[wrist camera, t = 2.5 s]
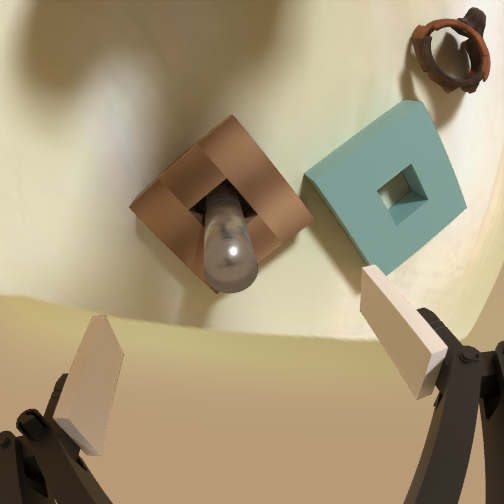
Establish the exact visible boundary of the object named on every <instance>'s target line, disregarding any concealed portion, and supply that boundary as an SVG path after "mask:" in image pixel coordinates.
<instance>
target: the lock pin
mask: <svg viewBox="0 0 504 504" xmlns="http://www.w3.org/2000/svg"><path fill="white" fill-rule="evenodd" d="M257 273H258V264H257V260H256V257H255V253H254V250H253V246H252V243H251V239H250V236H249V233H248V229H247V226H246V222H245V219H244V216H243V212H242V209H241V205H240V202H239V199H238V195H237V193H236V192H235V190H234V189H232V188H231V187H229V186H226V185H219V186H217V187H215V188H214V189H213V190H212V191H210V192H209V193H208V194H207V196H206V208H205V238H204V276H205V278H206V280H207V282H208V283H209V285H210V286H211V287H213V288H214V289H216V290H218V291H220V292H224V293H236V292H240V291H243V290H245V289H246V288H248V287H249V286H250V285H251V284H252V283H253V282H254V280H255V279H256V277H257Z"/></svg>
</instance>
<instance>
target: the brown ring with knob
mask: <svg viewBox="0 0 504 504" xmlns="http://www.w3.org/2000/svg"><path fill="white" fill-rule="evenodd" d="M485 23H486V15H485V14H484V12H483V11H481V10H479V9H478V8H474V7H472V8H471V9H469V10H468V12H467V14H466V15H465V16H464V18H458V19H457V20H455V19H440V20H435V21H432V22H430V23H428V24H427V25H426V26H421V25H418V26H417V27H416V29H415V30H414V32H413V34H412V38H413V46H414V50H415V53H416V56H417V59H418V62H419V64H420V65H421V67H422V69H423V71H424V72H428V76H429V78H431V79H432V80H433V81H434V82H436V83H437V84H439V85H440V86H441V87H442V88H443V89H444V90H445V91H446V92H447V93H450V92H452V91H454V90H455V89H456V88H458V87H461V89H462V90H463V91H464V92H468V93H470V94H471V93H473V92H475V91H476V89H477V87H478V85H479V82H480V81H481V80H482V79H483V82H485V81H486V80H487V78H488V75H489V72H490V55H489V51H488V48H487V47H486V44H485V42H484V39H483V32H484V29H485V26H486V24H485ZM444 27H451V28H452V29H453V30H455V31H456V32H457V33H458V34H459V35H463V36H465V37H467V38H469V39H467V40H466V41H463V42H462V43H461V44H462V45H463V47H464V48H465V49H466V51H467V53H468V55H469V58H470V62H471V70H470V73H469V75H468V77H467V78H466V79H465V80H457V79H454V78H452V77H449V76H448V75H446V74H445V73H444V72H443V71H442V70H441V69H440V68H439V67H438V66H437V64H436V62H435V60H434V58H433V56H432V52H431V40H432V37H431V36H430V34H431V33H432V32H433V31H434V30H435V31H438V30H439V29H441V28H444Z"/></svg>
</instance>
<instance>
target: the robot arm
mask: <svg viewBox="0 0 504 504" xmlns="http://www.w3.org/2000/svg"><path fill="white" fill-rule="evenodd" d="M360 312H361V313H362V315H363V316H364V318H365V319H366V321H367V322H368V324H369V325H370V327H371V328H372V330H373V331H374V333H375V334H376V336H377V338H378V339H379V341H380V342H381V344H382V345H383V347H384V348H385V350H386V351H387V353H388V355H389V356H390V358H391V359H392V361H393V362H394V364H395V366H396V367H397V369H398V370H399V372H400V374H401V375H402V377H403V378H404V380H405V382H406V383H407V385H408V387H409V388H410V390H411V391H412V393H413V395H414V396H415V398H416V400H419V399H421V398H423V397H426V396H428V395H431V394H432V392H433V389H434V387H435V385H436V387H437V388H438V390H439V394H438V396H437V399H436V401H435V403H434V406H435V409H434V413H433V417H432V421H431V425H430V428H429V432H428V435H427V439H426V442H425V446H424V449H423V452H422V455H421V458H420V461H419V464H418V467H417V470H416V473H415V475H414V478H413V481H412V483H411V486H410V489H409V491H408V494H407V496H406V499H405V501H404V504H458V501H459V497H460V494H461V490H462V487H463V483H464V479H465V475H466V471H467V467H468V463H469V458H470V453H471V448H472V443H473V438H474V432H475V426H476V419H477V412H478V404H479V406H480V413H481V421H482V430H483V441H484V455H485V474H486V475H485V476H486V504H504V341H501V342H500V343H498V345H497V347H496V349H495V351H490V352H479V351H478V350H477V349H475V348H474V347H471V346H463V345H462V344H461V343H460V342H459V341H458V339H457V338H456V337H455V336H454V335H453V334H452V333H451V331H450V330H449V329H448V328H447V327H445V325H444V323H443V322H442V321H440V319H439V318H438V317H437V316H436V315H435V314H434V312H432V311H430V310H428V309H426V308H425V307H424V308H421V309H417V310H416V309H415V308H414V307H413V306H412V304H411V303H410V302H409V301H408V300H407V299H406V298H405V296H404V295H403V294H402V293H401V292H400V291H399V290H398V289H397V288H396V286H395V285H394V284H393V283H392V282H391V281H390V280H389V279H388V278H387V277H386V276H385V274H384V273H383V272H382V271H381V270H380V269H379V268H378V267H377V266H376V265H370V266H366V267H362V277H361V302H360ZM123 356H124V353H123V351H122V349H121V347H120V345H119V343H118V341H117V339H116V337H115V335H114V333H113V330H112V328H111V326H110V324H109V322H108V320H107V317H106V315H99V316H93V317H92V319H91V321H90V323H89V326H88V328H87V330H86V332H85V335H84V337H83V339H82V342H81V344H80V347H79V349H78V351H77V354H76V356H75V359H74V361H73V364H72V366H71V369H70V371H69V373H68V374H63V375H62V376H61V377H60V378H59V379H58V381H57V382H56V385H55V387H54V392H52V395H51V398H50V400H49V403H48V406H47V409H46V412H45V414H44V417H43V416H42V415H41V414H40V413H39V412H38V410H36V409H28V410H26V411H24V412H23V413H22V414H21V415H20V416H19V417H18V419H17V422H16V427H17V429H18V430H19V431H20V432H21V433H22V434H23V436H19V437H15V435H13V433H12V432H10V431H3V432H1V433H0V504H56V502H57V504H113V503H112V502H111V501H110V499H109V498H108V497H107V495H106V494H105V493H104V491H103V490H102V488H101V487H100V485H99V484H98V482H97V481H96V480H95V478H94V477H93V475H92V473H91V472H90V470H89V469H88V467H87V466H86V464H85V463H84V461H83V460H82V458H81V457H80V456H79V451H80V449H81V450H82V451H83V452H84V453H85V454H86V455H91V456H102V452H103V446H104V441H105V436H106V430H107V425H108V421H109V416H110V411H111V406H112V402H113V398H114V393H115V389H116V384H117V380H118V377H119V372H120V368H121V364H122V360H123ZM54 498H55V499H54ZM55 500H56V502H55Z"/></svg>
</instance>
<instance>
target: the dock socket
mask: <svg viewBox="0 0 504 504" xmlns="http://www.w3.org/2000/svg"><path fill="white" fill-rule="evenodd" d="M401 171H402V173H403V175H404V176H405V178H406V180H407V182H408V184H409V186H410V188H411V191H410V192H409V193H408V194H406V195H405V196H404V197H403V198H402V199H400V200H399V201H398V202H397V203H395V204H394V205H393V206H392V207H390V208H389V209H388V210H387V208H386V206H385V204H384V203H383V201H382V199H381V197H380V196H379V194H378V192H377V190H378V189H380V188H381V187H382V186H383V185H385V184H386V183H387V182H388V181H390V180H391V179H392V178H394V177H395V176H396V175H397V174H399V173H400V172H401ZM304 174H305V175H306V177H307V178H308V180H309V181H310V182H311V184H312V185H313V186H314V188H315V189H316V191H317V192H318V193H319V195H320V196H321V198H322V199H323V201H324V202H325V203H326V205H327V206H328V208H329V209H330V211H331V212H332V213H333V215H334V216H335V218H336V219H337V221H338V222H339V224H340V225H341V227H342V228H343V230H344V231H345V233H346V234H347V236H348V237H349V239H350V240H351V242H352V243H353V245H354V246H355V248H356V249H357V251H358V252H359V254H360V255H361V257H362V258H363V260H364V262H365V263H366V265H367V266H370V265H376V266H377V267H378V268H379V269H380V270H381V271H382V272H383V273H384V274H385V276H387V275H388V274H389V273H391V272H392V271H393V270H394V269H396V268H397V267H398V266H399V265H401V264H402V263H403V262H404V261H406V260H407V259H408V258H409V257H411V256H412V255H413V254H414V253H415V252H417V251H418V250H419V249H420V248H421V247H423V246H424V245H425V244H426V243H427V242H429V241H430V240H431V239H432V238H433V237H434V236H436V235H437V234H438V233H439V232H440V231H441V230H443V229H444V228H445V227H446V226H447V225H448V224H449V223H450V222H452V221H453V220H454V219H455V218H456V217H457V216H458V215H459V214H460V213H462V212H463V211H464V210H465V209H466V208H467V207H466V204H465V201H464V198H463V195H462V192H461V189H460V186H459V184H458V181H457V178H456V176H455V173H454V170H453V168H452V165H451V163H450V160H449V158H448V155H447V153H446V151H445V148H444V146H443V144H442V141H441V139H440V137H439V135H438V133H437V130H436V128H435V126H434V124H433V122H432V120H431V118H430V116H429V114H428V112H427V110H426V108H425V106H424V104H423V102H422V101H413V100H403V101H401V102H400V103H399V104H397V105H396V106H394V107H393V108H392V109H390V110H389V111H387V112H386V113H385V114H383V115H382V116H381V117H379V118H378V119H376V120H375V121H374V122H372V123H371V124H370V125H368V126H367V127H366V128H364V129H363V130H361V131H360V132H359V133H357V134H356V135H355V136H353V137H352V138H351V139H349V140H348V141H347V142H345V143H344V144H343V145H341V146H340V147H339V148H337V149H336V150H335V151H333V152H332V153H331V154H329V155H328V156H327V157H325V158H324V159H323V160H321V161H320V162H319V163H317V164H316V165H315V166H313V167H312V168H311V169H309V170H308V171H307V172H306V173H304Z"/></svg>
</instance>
